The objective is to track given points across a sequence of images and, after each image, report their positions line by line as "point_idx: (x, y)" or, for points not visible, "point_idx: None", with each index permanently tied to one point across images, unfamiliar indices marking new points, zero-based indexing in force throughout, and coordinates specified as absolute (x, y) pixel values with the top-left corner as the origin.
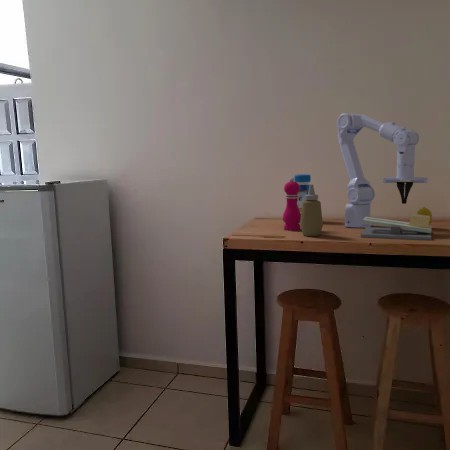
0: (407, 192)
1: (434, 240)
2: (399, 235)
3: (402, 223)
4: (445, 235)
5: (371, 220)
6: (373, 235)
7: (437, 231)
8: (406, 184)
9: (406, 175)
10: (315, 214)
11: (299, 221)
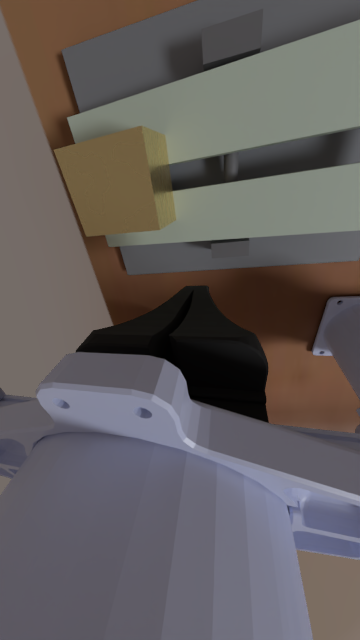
0: (156, 313)
1: (59, 61)
2: (206, 19)
3: (202, 187)
4: (77, 223)
5: None
6: None
7: (119, 290)
8: (132, 341)
9: (49, 505)
10: None
11: None
